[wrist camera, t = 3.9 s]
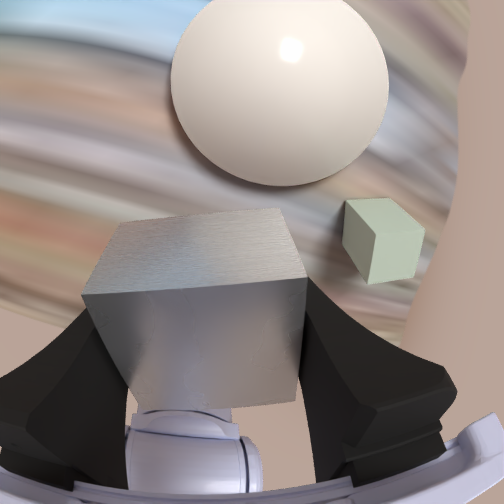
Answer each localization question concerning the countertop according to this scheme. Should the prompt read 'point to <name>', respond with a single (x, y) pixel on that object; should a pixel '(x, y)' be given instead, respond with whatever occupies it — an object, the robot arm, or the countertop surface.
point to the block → (381, 239)
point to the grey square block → (202, 309)
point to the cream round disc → (279, 87)
